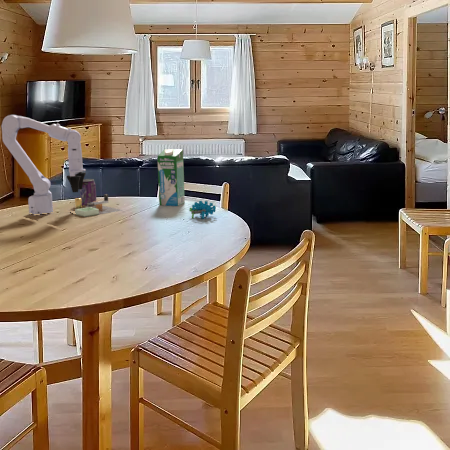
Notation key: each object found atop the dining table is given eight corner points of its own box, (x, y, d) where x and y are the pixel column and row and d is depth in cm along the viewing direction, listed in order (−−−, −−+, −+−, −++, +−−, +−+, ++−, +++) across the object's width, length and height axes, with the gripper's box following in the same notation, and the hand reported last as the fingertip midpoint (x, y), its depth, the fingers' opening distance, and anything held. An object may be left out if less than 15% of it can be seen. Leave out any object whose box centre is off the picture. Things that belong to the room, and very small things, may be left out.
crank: (89, 206, 263) (89, 197, 262) (86, 205, 265) (85, 197, 264) (110, 202, 270) (109, 194, 269) (106, 201, 272) (105, 193, 271)
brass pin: (77, 211, 263) (77, 199, 262) (74, 211, 265) (73, 198, 264) (83, 211, 265) (82, 198, 264) (79, 210, 267) (79, 197, 266)
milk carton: (159, 205, 279) (157, 150, 274) (166, 201, 288) (164, 148, 282) (177, 206, 277) (175, 150, 271) (184, 202, 285) (183, 148, 280)
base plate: (85, 218, 253) (84, 209, 252) (63, 213, 265) (63, 204, 264) (123, 211, 266) (122, 202, 265) (101, 207, 278) (100, 198, 277)
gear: (219, 211, 255) (212, 198, 247) (218, 223, 252) (210, 210, 244) (193, 214, 258) (186, 201, 250) (192, 226, 254) (184, 213, 246)
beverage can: (79, 205, 283) (77, 179, 280) (94, 203, 286) (93, 178, 283) (82, 207, 276) (81, 181, 274) (98, 206, 279) (96, 180, 277)
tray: (84, 216, 253) (84, 211, 252) (75, 214, 258) (75, 209, 257) (99, 214, 258) (98, 209, 257) (89, 212, 263) (89, 207, 262)
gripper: (80, 160, 253) (82, 193, 256) (88, 157, 267) (90, 187, 270) (63, 161, 253) (66, 193, 256) (72, 157, 267) (74, 188, 270)
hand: (77, 190), depth 263 cm, fingers open, 7 cm apart
